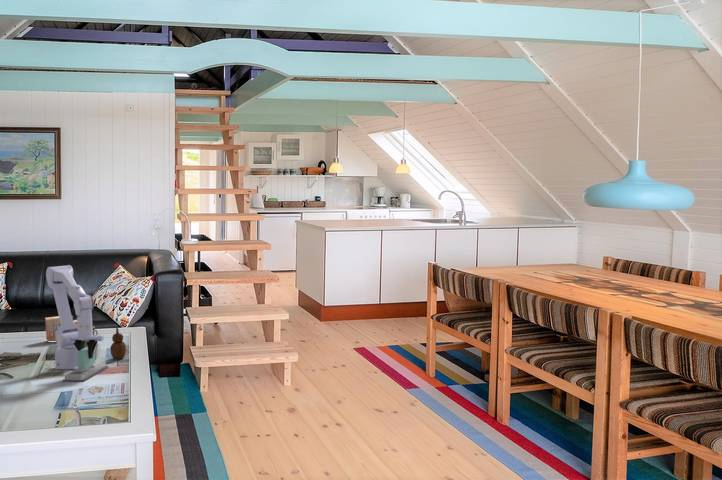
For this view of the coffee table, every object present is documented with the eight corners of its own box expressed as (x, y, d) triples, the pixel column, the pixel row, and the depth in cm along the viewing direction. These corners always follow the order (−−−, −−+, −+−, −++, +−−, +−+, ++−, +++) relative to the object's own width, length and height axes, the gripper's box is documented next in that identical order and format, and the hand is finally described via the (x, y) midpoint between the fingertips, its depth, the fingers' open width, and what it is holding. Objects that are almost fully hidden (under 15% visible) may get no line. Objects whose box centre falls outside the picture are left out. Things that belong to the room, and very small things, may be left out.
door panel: (77, 368, 295) (77, 351, 295) (88, 363, 304) (87, 346, 303) (85, 368, 295) (84, 351, 294) (95, 363, 304) (94, 346, 303)
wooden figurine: (120, 360, 322) (119, 327, 321) (108, 360, 323) (107, 326, 322) (128, 356, 328) (127, 324, 327) (116, 356, 330) (115, 323, 328)
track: (62, 381, 289) (62, 375, 288) (88, 367, 310) (87, 361, 310) (84, 381, 288) (83, 375, 287) (108, 367, 310) (108, 361, 309)
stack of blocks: (90, 336, 376) (89, 312, 376) (92, 338, 371) (91, 314, 370) (46, 341, 366) (44, 317, 365) (47, 343, 360) (46, 319, 359)
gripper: (63, 327, 295) (65, 360, 296) (97, 327, 294) (99, 360, 295) (71, 324, 302) (73, 356, 303) (105, 324, 301) (106, 356, 302)
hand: (86, 358), depth 300 cm, fingers closed on door panel, 3 cm apart
